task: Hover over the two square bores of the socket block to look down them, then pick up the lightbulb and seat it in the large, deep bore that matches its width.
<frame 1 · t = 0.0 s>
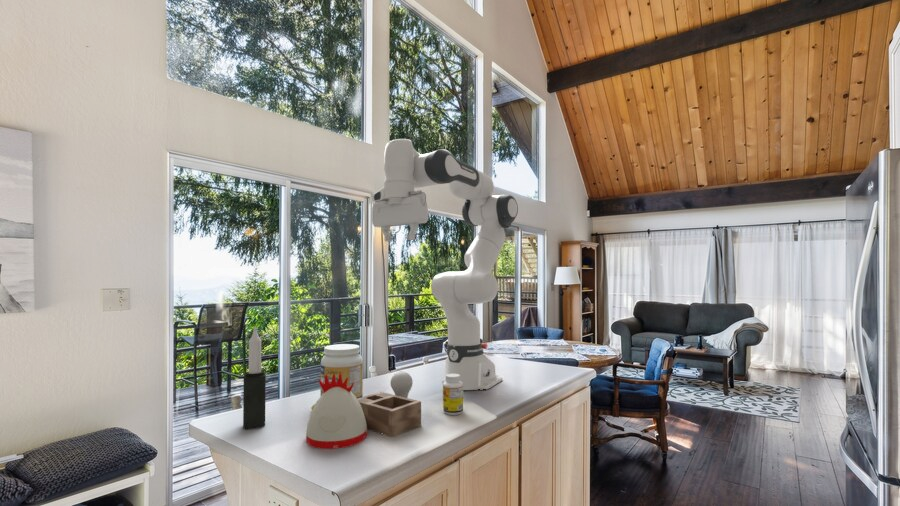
hand: (399, 240, 128), 48 cm above the kitchen island, tool pointing down, fingers open, 8 cm apart
supplement bottle: (453, 413, 121), on the kitchen island
lightbulb: (401, 412, 123), on the kitchen island
socket block: (386, 424, 112), on the kitchen island
supplement tub: (341, 404, 130), on the kitchen island
kitchen timer: (336, 438, 104), on the kitchen island
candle: (254, 426, 112), on the kitchen island
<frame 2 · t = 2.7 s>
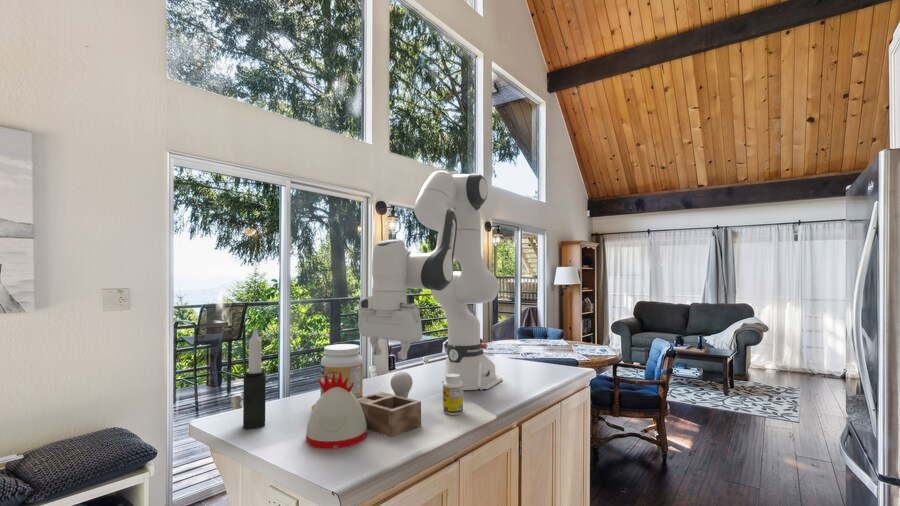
hand: (389, 356, 112), 17 cm above the kitchen island, tool pointing down, fingers open, 8 cm apart
nothing on the kitchen island moved.
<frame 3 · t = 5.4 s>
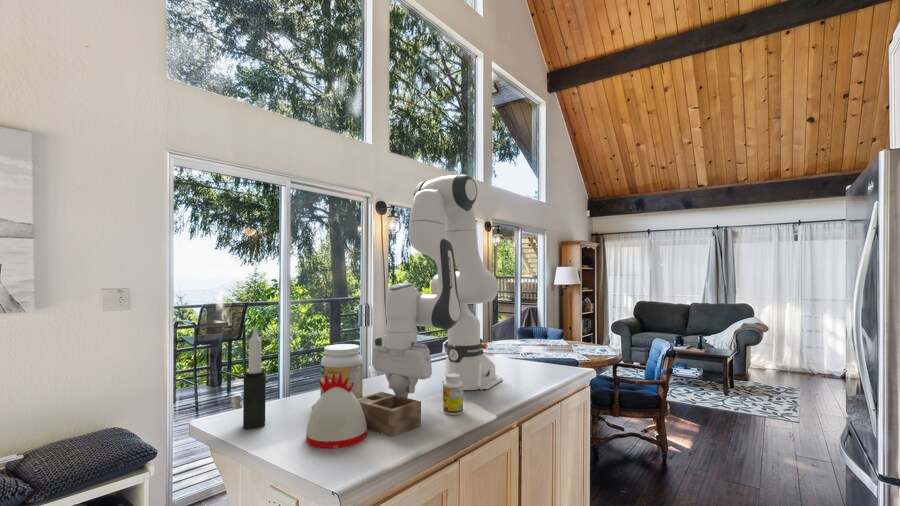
hand: (401, 390, 123), 6 cm above the kitchen island, tool pointing down, fingers closed on lightbulb, 6 cm apart
lightbulb: (401, 412, 123), on the kitchen island, touching gripper
everything else where it was.
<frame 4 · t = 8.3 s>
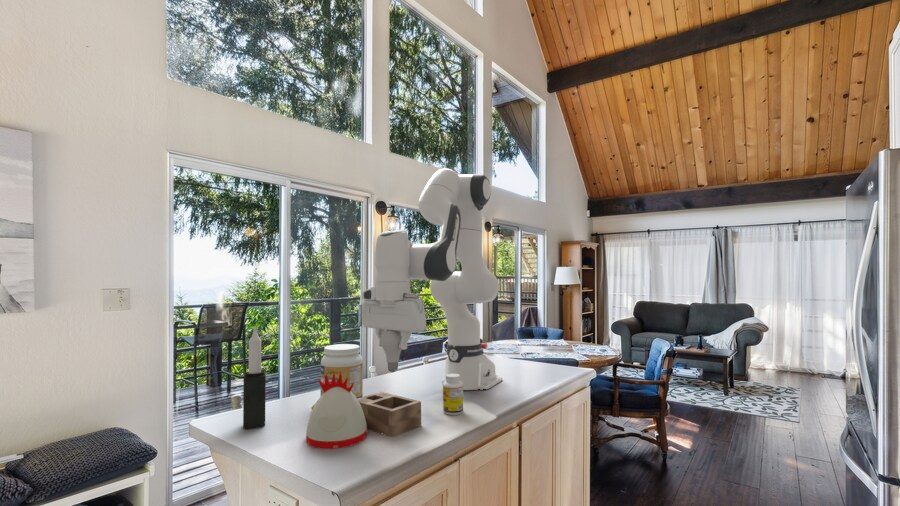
hand: (392, 347, 111), 20 cm above the kitchen island, tool pointing down, fingers closed on lightbulb, 6 cm apart
lightbulb: (392, 372, 111), point 13 cm above the kitchen island, touching gripper
everything else where it was.
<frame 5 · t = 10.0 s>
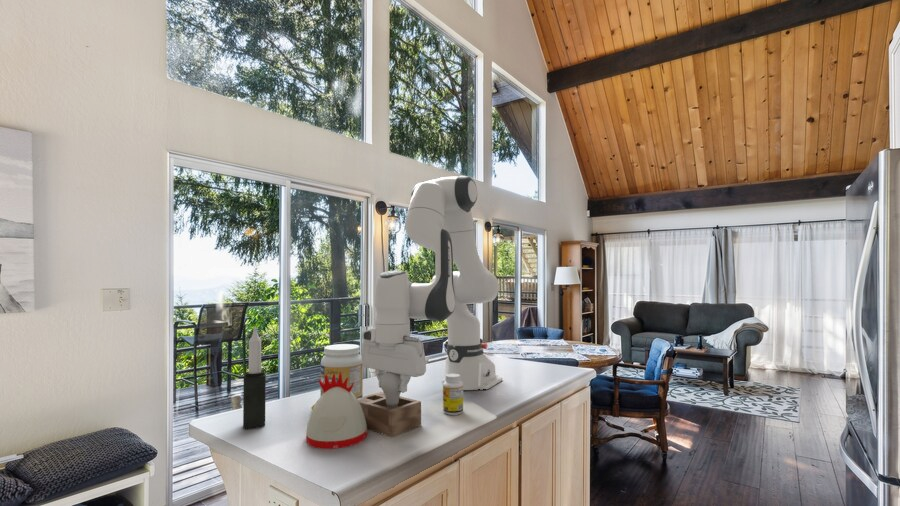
hand: (392, 389, 111), 9 cm above the kitchen island, tool pointing down, fingers closed on lightbulb, 6 cm apart
lightbulb: (392, 415, 111), point 3 cm above the kitchen island, touching gripper
everything else where it was.
when the fingers open (7 cm above the kitchen island, at t = 11.0 s): lightbulb moves 2 cm, resting on socket block.
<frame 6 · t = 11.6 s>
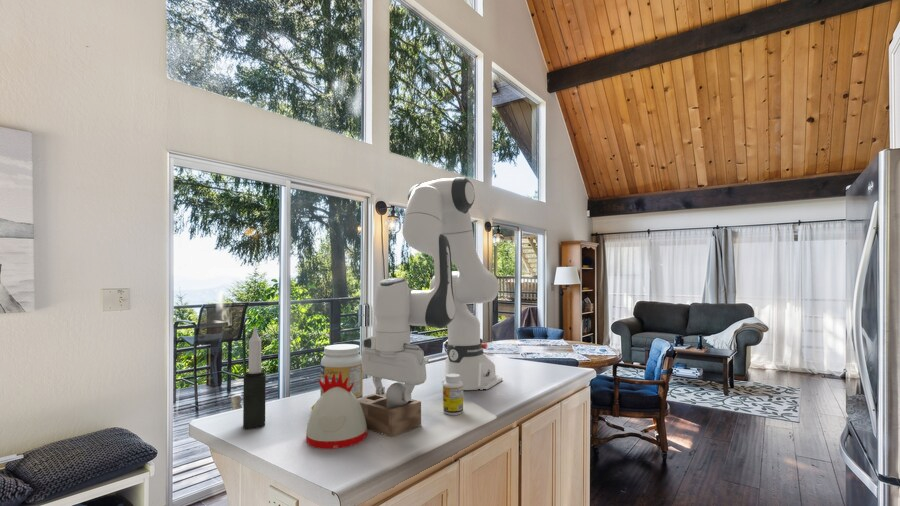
hand: (393, 397, 111), 7 cm above the kitchen island, tool pointing down, fingers open, 8 cm apart
lightbulb: (387, 421, 112), point 1 cm above the kitchen island, touching gripper, socket block
everything else where it was.
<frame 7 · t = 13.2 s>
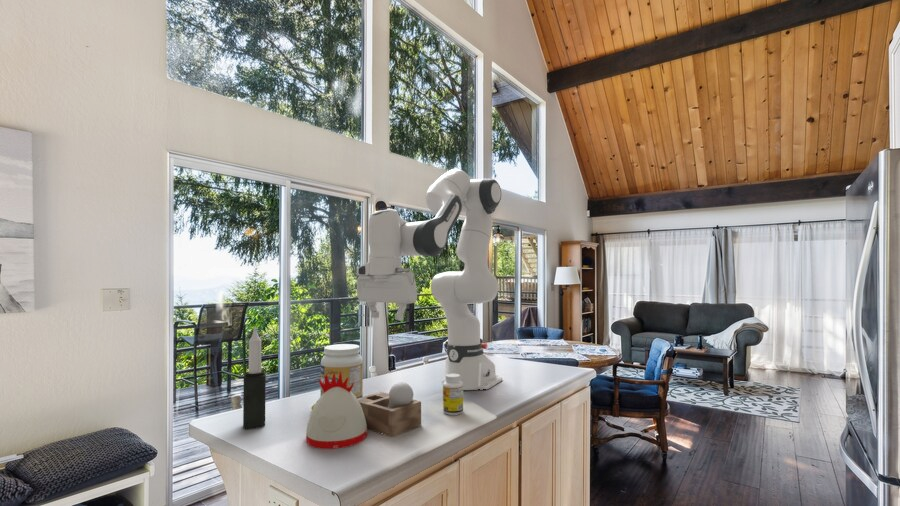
hand: (386, 319, 120), 26 cm above the kitchen island, tool pointing down, fingers open, 8 cm apart
lightbulb: (387, 421, 112), point 1 cm above the kitchen island, touching socket block
everything else where it was.
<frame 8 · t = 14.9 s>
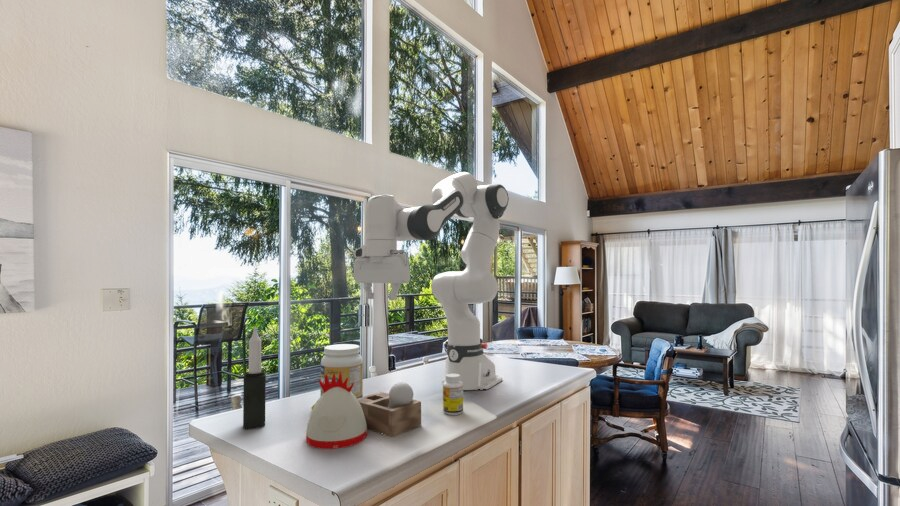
hand: (381, 299, 125), 31 cm above the kitchen island, tool pointing down, fingers open, 8 cm apart
nothing on the kitchen island moved.
at the end: lightbulb inside the target area (2.4 cm from its centre), point 0.8 cm above the kitchen island; the gripper is holding nothing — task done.
